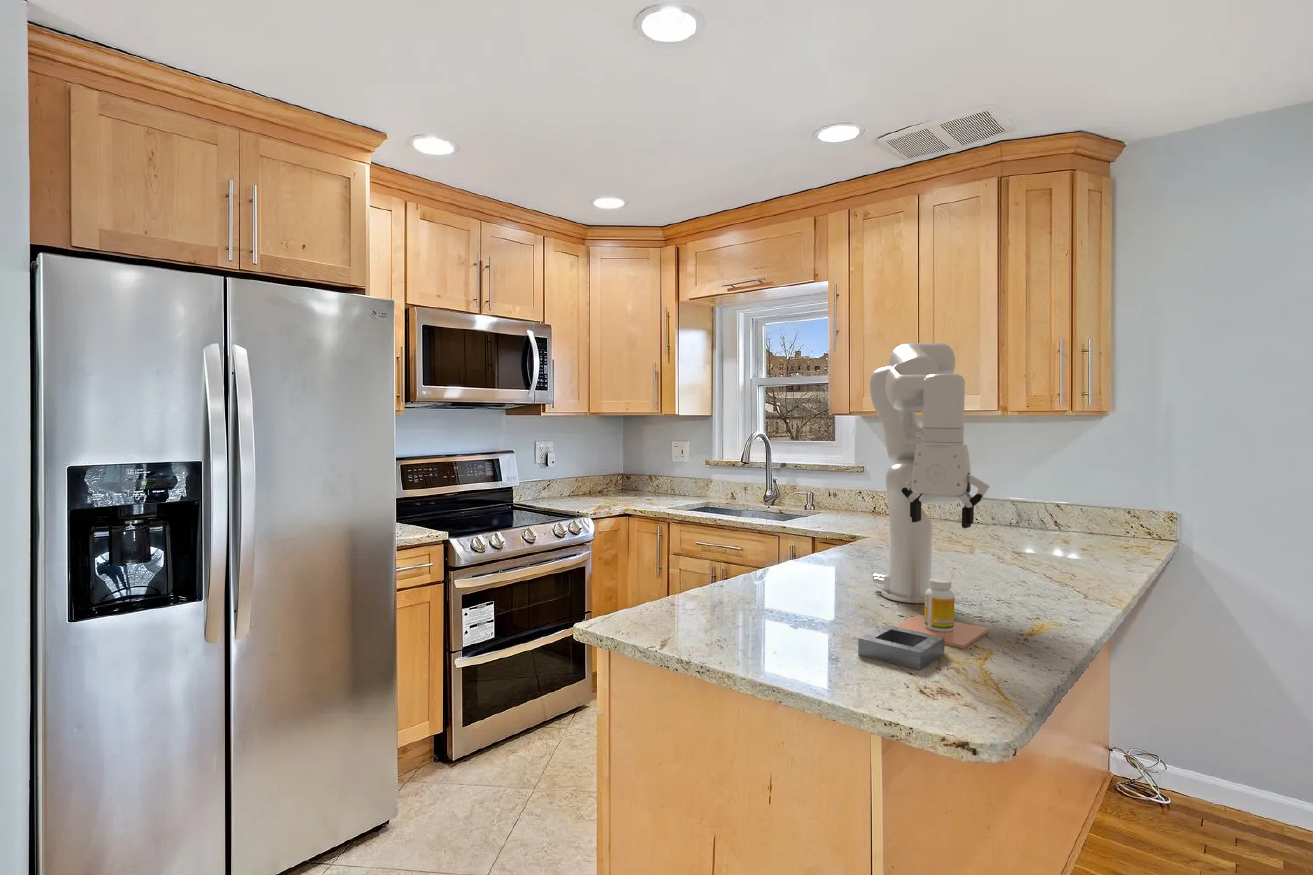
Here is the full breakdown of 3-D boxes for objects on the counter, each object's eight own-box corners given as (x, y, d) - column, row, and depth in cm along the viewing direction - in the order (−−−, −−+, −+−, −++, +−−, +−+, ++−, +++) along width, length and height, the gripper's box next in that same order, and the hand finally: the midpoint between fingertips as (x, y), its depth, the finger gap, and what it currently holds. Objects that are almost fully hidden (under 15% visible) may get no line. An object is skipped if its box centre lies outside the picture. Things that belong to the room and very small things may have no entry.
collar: (858, 654, 122) (858, 637, 122) (884, 640, 130) (885, 624, 130) (920, 670, 114) (920, 652, 114) (944, 653, 123) (944, 637, 122)
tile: (889, 632, 135) (889, 628, 135) (917, 617, 145) (917, 614, 145) (963, 648, 126) (963, 645, 126) (988, 631, 136) (988, 628, 136)
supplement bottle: (918, 626, 137) (919, 578, 137) (937, 622, 139) (938, 575, 139) (940, 633, 132) (941, 584, 132) (960, 630, 134) (961, 581, 134)
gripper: (891, 436, 138) (890, 521, 138) (983, 439, 126) (980, 532, 127) (906, 435, 143) (905, 517, 144) (996, 438, 131) (993, 527, 132)
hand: (940, 524), depth 135 cm, fingers open, 9 cm apart
